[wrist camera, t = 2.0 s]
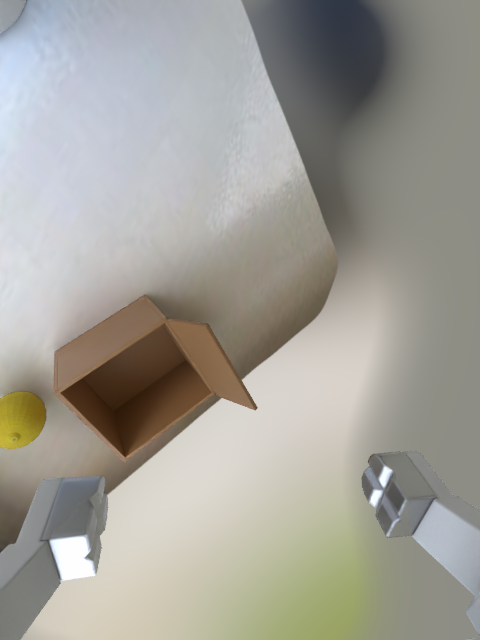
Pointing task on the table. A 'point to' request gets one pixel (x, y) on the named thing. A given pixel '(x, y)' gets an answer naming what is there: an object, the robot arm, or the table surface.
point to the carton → (129, 378)
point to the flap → (212, 361)
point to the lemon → (20, 419)
